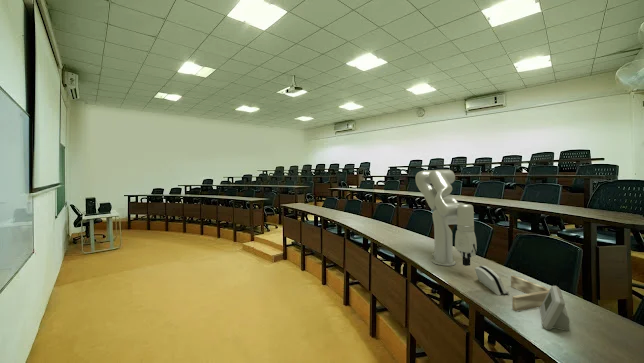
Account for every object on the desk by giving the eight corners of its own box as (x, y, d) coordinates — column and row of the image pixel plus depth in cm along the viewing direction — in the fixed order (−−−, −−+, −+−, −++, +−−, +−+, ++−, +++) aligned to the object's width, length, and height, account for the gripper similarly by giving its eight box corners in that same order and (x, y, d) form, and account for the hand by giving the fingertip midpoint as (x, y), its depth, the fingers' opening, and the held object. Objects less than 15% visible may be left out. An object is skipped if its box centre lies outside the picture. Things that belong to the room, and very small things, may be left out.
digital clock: (541, 309, 103) (541, 281, 103) (573, 318, 97) (573, 288, 96) (531, 325, 93) (531, 295, 92) (567, 337, 86) (567, 304, 86)
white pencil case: (510, 295, 115) (502, 273, 115) (499, 299, 116) (491, 277, 115) (488, 280, 132) (481, 260, 132) (479, 283, 132) (471, 264, 132)
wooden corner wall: (478, 291, 119) (478, 280, 119) (514, 286, 124) (514, 275, 124) (516, 311, 102) (516, 297, 102) (556, 303, 107) (556, 291, 107)
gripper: (448, 227, 144) (449, 261, 143) (471, 231, 129) (472, 270, 129) (460, 226, 145) (461, 260, 145) (483, 230, 131) (484, 268, 131)
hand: (466, 265), depth 137 cm, fingers closed
